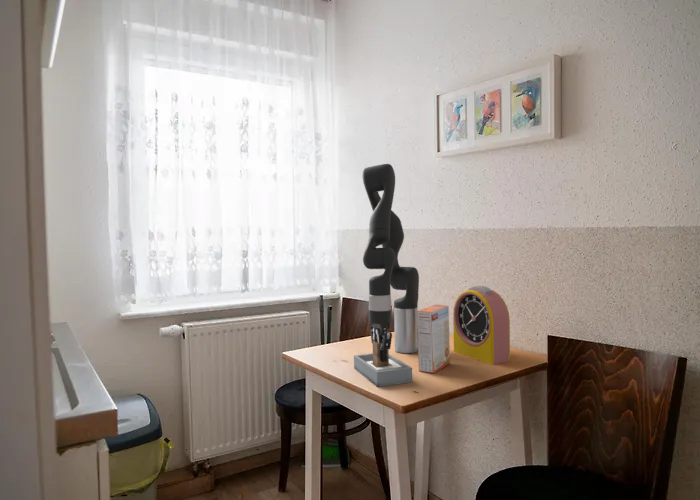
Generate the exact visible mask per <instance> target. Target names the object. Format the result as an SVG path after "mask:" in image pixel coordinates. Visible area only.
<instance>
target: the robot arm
mask: <svg viewBox="0 0 700 500" xmlns="http://www.w3.org/2000/svg"><path fill="white" fill-rule="evenodd" d="M362 181H363V185H364V189H365V192H366V194H367V198H368V200H369V203H370V207H371V210H372V213H371V216H370V218H369V228H368V230H369V231H368V233H369V234H368V241H367V244H366V247H365V249H364V253H363V257H362V262H363V265H364V267H365V268H366V269H368V270H384V272H383V273H382V274H380V275H375V276H372V277H370V278H369V280H368V291H369V292H368V294H369V296H368V322H369V323H370V324H373V325H370V326H369V331H370V340H371V344H372V345H373V342H374V341H375V342H376V341H378V343H379V344H380V361H381V362H386V361H387V350H388V349H389V350H391V346H392V345H391V344H392V339H393V333H392V332H389V329H388V325H389V324H390V323H392V322H393V321H392V320H393V319H392V318H393V317H392V311H393V316H394V322H393V323H394V324H393V325H394V351H395V352H396V353H401V354H414V353H417V352H418V322H417V311H419V310H418V307H419V306H418V305H419V291H420V290H419V286H420V285H419V284H420V275H419V271H418V268H416V267H414V266H401V265H400V264H399V257H398V256H399V252H400V250H401V248H402V246H403V243H404V240H405V233H404V228H403V225H402V221H401V219H400V217H399V216H398V215H397V213H395V212H394V210H392V207H393V202H394V195H395V194H394V193H395V188H396V174H395V170H394V168H393V166H392V165H391V164H390V163H383V164H382V163H381V164H378V165H371V166H367V167H364V168H363V170H362ZM379 192H383V193H382V196H380V194H379ZM379 246H381V247H379ZM391 288H392V290H393V289H394V290H396V291H405V294H404V296H403V297H402V296H401V297H400V298H399V297H398V298H397V299H395V300H394V302H393V310H392V295H391Z"/></svg>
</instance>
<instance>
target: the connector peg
mask: <svg viewBox="0 0 700 500" xmlns="http://www.w3.org/2000/svg"><path fill="white" fill-rule="evenodd" d="M389 350H390V349H388V350H387V361H386V362H381V361H380V344H379V343H378V341H376V342H375V341H374V342H373V344H372V353H373V365H374V366H375V367H377V368H378V367H386V366H389V354H390V353H389Z"/></svg>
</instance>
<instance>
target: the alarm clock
mask: <svg viewBox="0 0 700 500" xmlns="http://www.w3.org/2000/svg"><path fill="white" fill-rule="evenodd" d="M454 303H455V304H454V306H453V313H452V315H453V316H452V317H453V319H452V320H453V353H455V354H459V355H463V356H465V357H468V358H471V359H473V360H477V361H480V362H482V363H485V364H489V365H497V364H503V363H508V362H510V361H511V328H510V327H511V323H510V321H511V320H510V319H511V318H510V313H509V309H508V306H507V304H506V302H505V300H504V298H502V296H501V295H500V294H499V293H498V292H496V291H495V290H493V289H491V288H490V287H487V286H485V285H474V286H470V287H469V288H468V289H467V290H465V291H463V292H461V293H460V294H459V296H458V297H457V299H456V300H455V302H454Z"/></svg>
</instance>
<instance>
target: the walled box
mask: <svg viewBox="0 0 700 500" xmlns="http://www.w3.org/2000/svg"><path fill="white" fill-rule="evenodd" d="M353 369H354V370H356V371H357V372H358V373H360V374H361V375H362V376H363V377H364V378H366V379H367V380H368V381H369V382H370V383H372V384H373V385H374V386H375V387H377V388H379V387H386V386H393V385H400V384H408V383H413V367H411V366H410V365H408V364H406V363H405V362H404V361H402V360H400V359H398V358H396V357H395V356H393V355H391V354H390V353H389V366H386V367H378V368H377V367H375V366H374V365H373V352H371V353H366V354H365V353H364V354H356V355H353Z"/></svg>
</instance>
